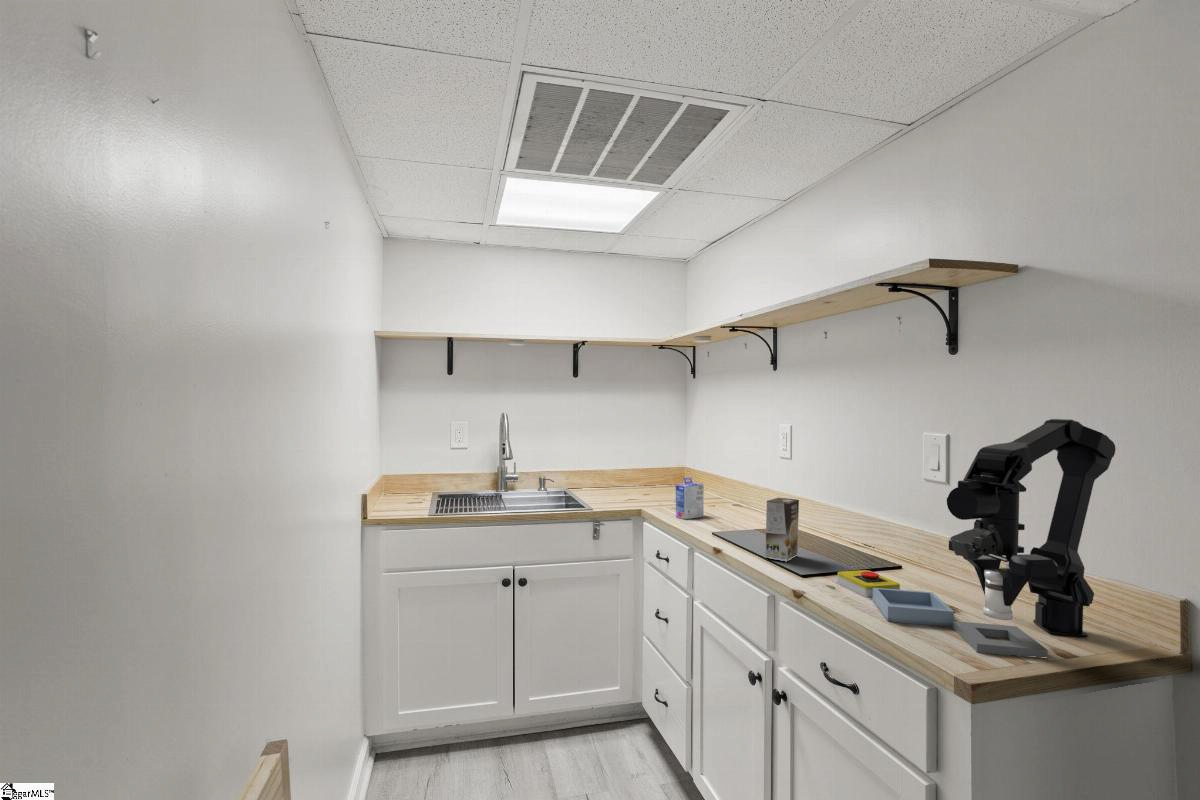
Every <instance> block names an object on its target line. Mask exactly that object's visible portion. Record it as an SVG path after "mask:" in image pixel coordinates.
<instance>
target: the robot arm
mask: <svg viewBox="0 0 1200 800" xmlns="http://www.w3.org/2000/svg"><path fill="white" fill-rule="evenodd" d="M1053 451H1055V452H1056V453H1057V455H1056V460H1057V462H1058V464H1059V466H1060V468H1061V470H1062V476H1061V480H1060V485H1059V489H1058V493H1057V498H1056V501H1055V505H1054V510H1053V513H1052V518H1051V522H1050V525H1049V529H1048V532H1047V533H1048V534H1047V538H1046V541H1045V542H1044V544H1042V545H1041V546H1040V547H1032V548H1031V550H1030V554H1029V553H1028V554H1027V553H1026V554H1024V553H1025V547H1024V546H1021V545H1019V531H1025V529H1026V527H1025V524H1023V523H1020V522H1019V521H1020V493H1024V492H1027V487H1025V485H1023V484H1022V483H1021V482H1020V481H1021V480H1023V479H1024V478H1025V477H1026V476H1027V475H1028V474H1030V472H1031V471H1032V470H1033V465H1032V464H1033V463H1034V462H1035V461H1038V460H1039V459H1040V458H1041V459H1042V457H1044V456H1046V455H1047V454H1048V455H1049V454H1050V453H1051V452H1053ZM1115 454H1116V445H1115V443H1114V441H1113V440H1112V439H1110V437H1108V436H1107V435H1106V434H1105V433H1103V432H1100V431H1098V430H1096V429H1093V428H1090V427H1088V426H1085V425H1083V424H1081V423H1080V421H1077V420H1074V419H1066V418H1065V419H1064V418H1063V419H1060V418H1052V419H1051V418H1050V419H1048V420H1045V422H1044V423H1042V425H1040V426H1038V427H1036V428H1035V429H1033V430H1030V431H1028V432H1027V433H1025V434H1023V435H1021V436H1019V437H1018V438H1016V439H1014V440H1012V441H1009V442H1005V443H1003V442H1002V443H993V444H991V445H986V446H984V447H981V448H980V449H979V450H978V451H977V453H976V455H975V457H974V458H973V461H972V462H971V465H970V466H969V468H968V470H967V471H966V474H965V476H964V478H963V479H962V480H958V481H957V487H955V488H953V489H951V490H950V492H949V493H948V495H947V496H948V497H946V506H947V509H948V511H949V513H951V514H952V516H953V517H955V518H956V519H959V520H962V521H965V520H968V521H969V520H975V521H974V522H973V528H972V529H969V530H964V531H962V532H959V533H958V534H954V535H953V536H951V537H950V538H949V539H948V550H949V551H951V552H954V555H955V556H960V557H962V558H963V559H964V560H966V561H967V562H968V563H969V564H971V566H973V568H974V570H975V572H976V574H977V578H978V580H979V583H980V586H981V589H982V592H983V595H984V596H985V577H984V569H997V571H998V572H999V573H1000V574H1001V576H1002V577H1003V599H1004V605H1005V606H1011V607H1012V605H1013V604H1014V602H1015V601H1016V599H1017V598H1018V596H1019V595H1020V593H1021V591H1022V590H1023V589H1024V587H1025V586H1026V585H1027V583H1028V588H1029V592H1030V593H1031V594H1036V595H1038V596H1037V598H1038V599H1037V600H1038V601H1036V602H1035V607H1034V608H1035V609H1034V612H1035V613H1034V619H1033V620H1032V622H1033V623H1034V624H1036V625H1037V626H1038V627H1040V628H1041V629H1042V630H1044V631H1045V632H1047V633H1048V634H1050V635H1060V636H1071V637H1080V638H1081V637H1085V638H1088V637H1089V634H1088V633H1087V632H1085V631H1084V630H1083V629H1084V627H1083V626H1084V607H1090V606H1091V605H1092V604H1093V601H1094V596H1095V592H1094V591H1093V589H1092V587H1091V586H1090V585H1089V583H1088V581H1087V580H1086V579H1085V577H1084V576H1085V566H1084V563H1083V561H1082V558H1081V556H1080V554H1079V546H1080V544H1081V538H1082V534H1083V530H1084V525H1085V522H1086V517H1087V512H1088V509H1089V504H1090V500H1091V496H1092V493H1093V487H1094V483H1095V481H1096V480H1097V479H1098V478H1099V477H1101V476H1102V475H1103V474H1104V473H1105V472H1106V471H1107V470H1109V469H1110V468H1109V467H1110V466H1111V462H1112V459H1113V458H1114V456H1115ZM1001 562H1003V563H1006V565H1005V568H1004V567H1003V568H1001V567H1000V566H1001Z"/></svg>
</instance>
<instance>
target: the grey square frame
mask: <svg viewBox="0 0 1200 800" xmlns="http://www.w3.org/2000/svg"><path fill="white" fill-rule="evenodd" d="M952 630H954V632H955V633H957V634H958V635H959V636H960V637H961V638H962V639H963V640H964V641H965V642H966V643H967V644H968V645H969V646H970V647H971V648H972V649H973V650H974V651H975V652H976V653H978V654H980V653H982V654H990V655H1002V656H1011V655H1019V656H1018V657H1022V656H1036V657H1047V658H1049V657H1048V654H1049V650H1048V649H1047V648H1045V647H1044V646H1043V645H1042V644H1041V643H1039V642H1038V641H1037V640H1035V639H1034V638H1032V637H1031V635H1029V634H1027V633H1026V632H1025V631H1024V630H1022V629H1021V628H1019V627H1018V626H1016V625H1008V624H1007V625H1005V624H994V623H982V622H980V623H979V622H971V621H970V622H969V621H967V622H966V621H958V620H954V621H953V627H952ZM986 637H987V638H986ZM997 637H999V639H989V638H997ZM1007 638H1008V639H1007ZM1000 639H1007V640H1000Z"/></svg>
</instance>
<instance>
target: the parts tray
mask: <svg viewBox="0 0 1200 800" xmlns="http://www.w3.org/2000/svg"><path fill="white" fill-rule="evenodd" d="M872 603H873V604H874V606H875V607H877V609H878V611H879V612H880V613H881V614H882V616H883V617H884V618H885V620H886V621H887V622H892V623H903V624H912V625H913V624H914V625H926V626H938V627H949V628H950V627H951V628H953V621H955V611H954V610H953V609H951V607H950V606H948V605H947V604H946V603H945V602H944V601H943V600H942V599H941V598H939V596H938V595H936V594H935V593H934V592H933V591H921V590H908V589H900V590H897V589H884V588H873V600H872Z"/></svg>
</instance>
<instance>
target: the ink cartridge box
mask: <svg viewBox="0 0 1200 800" xmlns="http://www.w3.org/2000/svg"><path fill="white" fill-rule="evenodd" d="M683 481H684V483H683V484H681V483H680V484H676V485H675V518H678V519H681V520H690V519H698V518H704V510H705V509H704V507H705V506H704V501H705V499H704V498H705V497H704V493H705V492H704V491H705V489H704V487H705V486H704V484H703V483H698V482H693V480H692V478H691V477H683Z"/></svg>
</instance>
